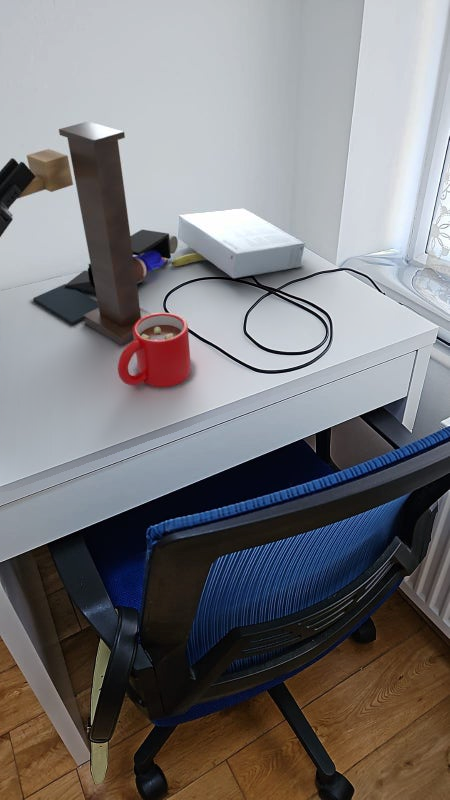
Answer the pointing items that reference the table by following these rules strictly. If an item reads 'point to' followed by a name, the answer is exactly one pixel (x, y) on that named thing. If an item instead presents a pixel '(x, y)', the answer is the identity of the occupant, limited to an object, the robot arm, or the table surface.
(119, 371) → the mug
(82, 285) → the black angular block
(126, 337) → the stand
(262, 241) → the skincare box
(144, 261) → the figurine character
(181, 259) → the banana
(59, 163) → the wooden toy mallet
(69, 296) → the mat
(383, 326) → the table surface
